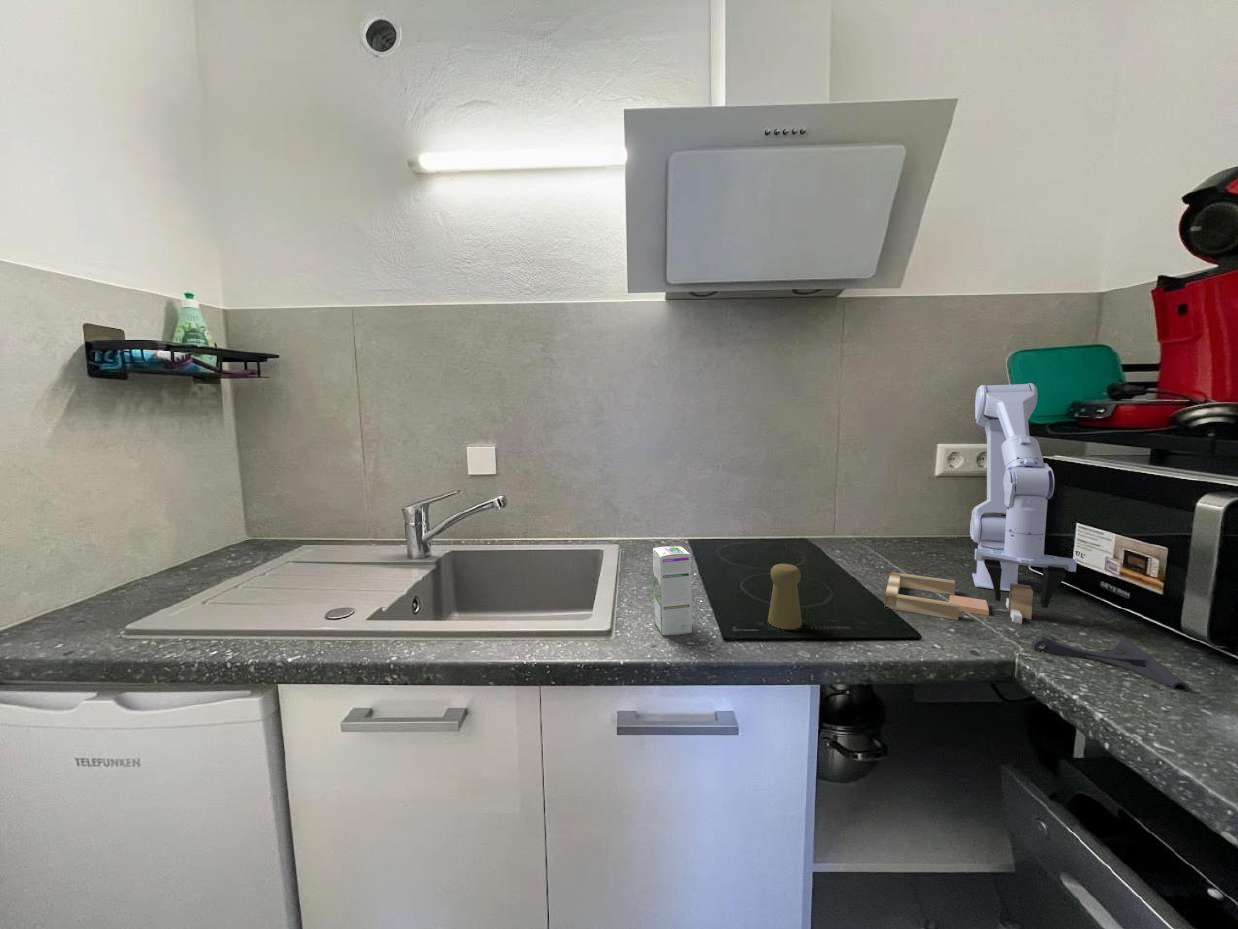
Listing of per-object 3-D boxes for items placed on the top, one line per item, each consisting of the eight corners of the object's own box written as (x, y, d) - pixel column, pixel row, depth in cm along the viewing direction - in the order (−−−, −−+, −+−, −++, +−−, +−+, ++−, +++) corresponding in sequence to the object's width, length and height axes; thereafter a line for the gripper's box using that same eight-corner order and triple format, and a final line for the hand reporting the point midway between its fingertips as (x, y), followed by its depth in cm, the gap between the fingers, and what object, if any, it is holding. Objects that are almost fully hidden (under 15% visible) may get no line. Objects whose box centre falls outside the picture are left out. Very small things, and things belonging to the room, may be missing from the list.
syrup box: (693, 633, 87) (693, 553, 86) (660, 636, 86) (660, 555, 85) (682, 620, 93) (682, 544, 91) (652, 623, 92) (651, 546, 90)
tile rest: (890, 582, 112) (890, 572, 112) (954, 592, 105) (954, 580, 105) (884, 607, 97) (884, 595, 97) (958, 620, 91) (958, 607, 91)
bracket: (1017, 635, 86) (1018, 620, 86) (1130, 650, 80) (1132, 633, 80) (1050, 675, 73) (1051, 657, 73) (1188, 696, 67) (1190, 676, 67)
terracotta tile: (949, 601, 101) (949, 594, 101) (985, 607, 98) (986, 600, 98) (950, 611, 96) (950, 604, 96) (988, 618, 93) (988, 610, 93)
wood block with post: (1005, 605, 98) (1007, 578, 98) (1025, 607, 96) (1027, 580, 96) (1013, 623, 90) (1015, 593, 89) (1034, 626, 88) (1036, 596, 87)
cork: (789, 615, 94) (790, 559, 93) (809, 628, 88) (810, 568, 87) (761, 619, 93) (762, 562, 92) (779, 632, 87) (780, 571, 86)
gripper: (978, 531, 92) (974, 602, 93) (1083, 540, 84) (1077, 617, 86) (975, 524, 98) (971, 590, 99) (1072, 532, 90) (1067, 604, 92)
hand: (1020, 602), depth 93 cm, fingers open, 6 cm apart
